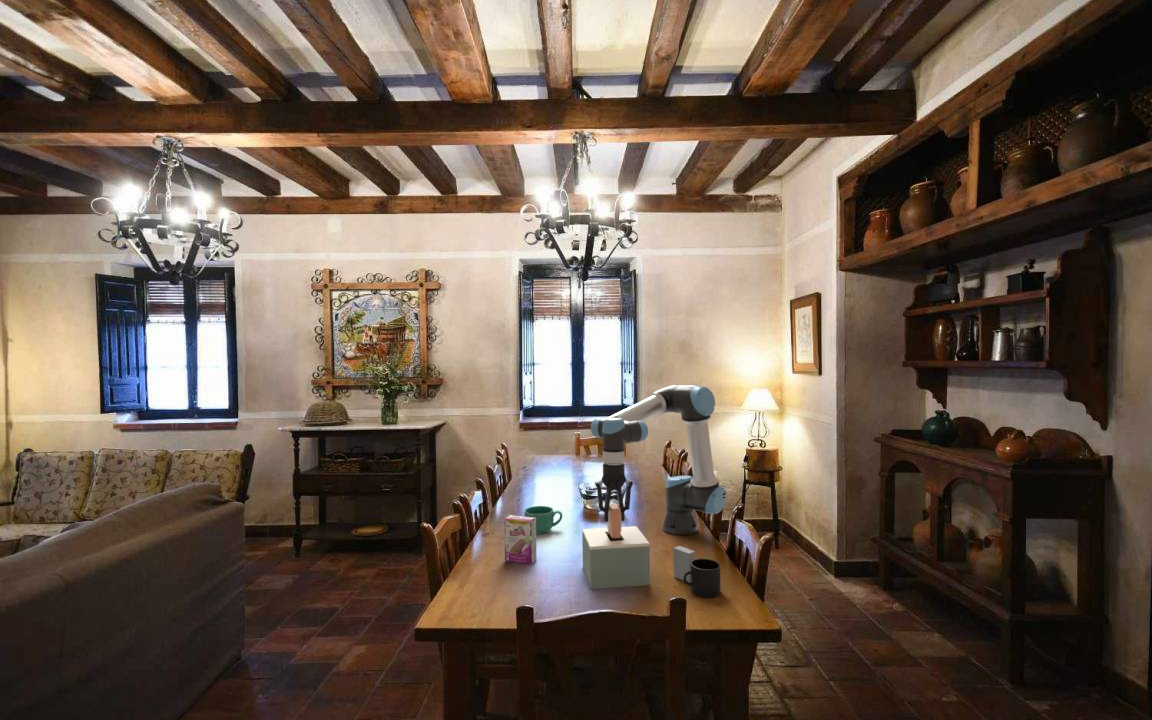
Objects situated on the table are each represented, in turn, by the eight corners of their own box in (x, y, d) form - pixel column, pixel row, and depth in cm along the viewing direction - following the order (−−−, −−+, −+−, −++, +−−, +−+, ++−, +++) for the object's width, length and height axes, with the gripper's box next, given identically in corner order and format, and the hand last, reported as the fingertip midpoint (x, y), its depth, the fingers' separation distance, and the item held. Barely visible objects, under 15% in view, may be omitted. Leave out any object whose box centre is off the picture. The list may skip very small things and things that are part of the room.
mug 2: (679, 587, 179) (678, 559, 179) (714, 584, 181) (714, 557, 181) (688, 599, 170) (688, 571, 170) (725, 597, 171) (724, 568, 171)
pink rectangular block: (616, 531, 192) (616, 503, 192) (620, 537, 185) (620, 508, 185) (608, 531, 192) (607, 503, 192) (612, 538, 185) (611, 509, 185)
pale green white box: (636, 564, 199) (636, 526, 199) (649, 584, 181) (649, 543, 181) (582, 567, 196) (582, 529, 196) (590, 589, 179) (590, 546, 178)
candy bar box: (504, 562, 203) (503, 518, 203) (510, 557, 208) (509, 514, 207) (531, 565, 199) (531, 520, 199) (537, 560, 204) (536, 517, 204)
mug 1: (523, 536, 231) (522, 514, 231) (526, 526, 244) (526, 505, 244) (561, 536, 231) (561, 513, 231) (563, 526, 244) (562, 505, 244)
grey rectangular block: (679, 574, 190) (679, 545, 190) (695, 580, 184) (695, 551, 184) (673, 576, 188) (673, 547, 188) (689, 583, 182) (689, 553, 182)
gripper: (633, 460, 193) (634, 525, 193) (589, 461, 191) (589, 528, 191) (638, 464, 186) (639, 532, 186) (592, 465, 184) (593, 535, 184)
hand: (614, 530), depth 189 cm, fingers closed on pink rectangular block, 3 cm apart
